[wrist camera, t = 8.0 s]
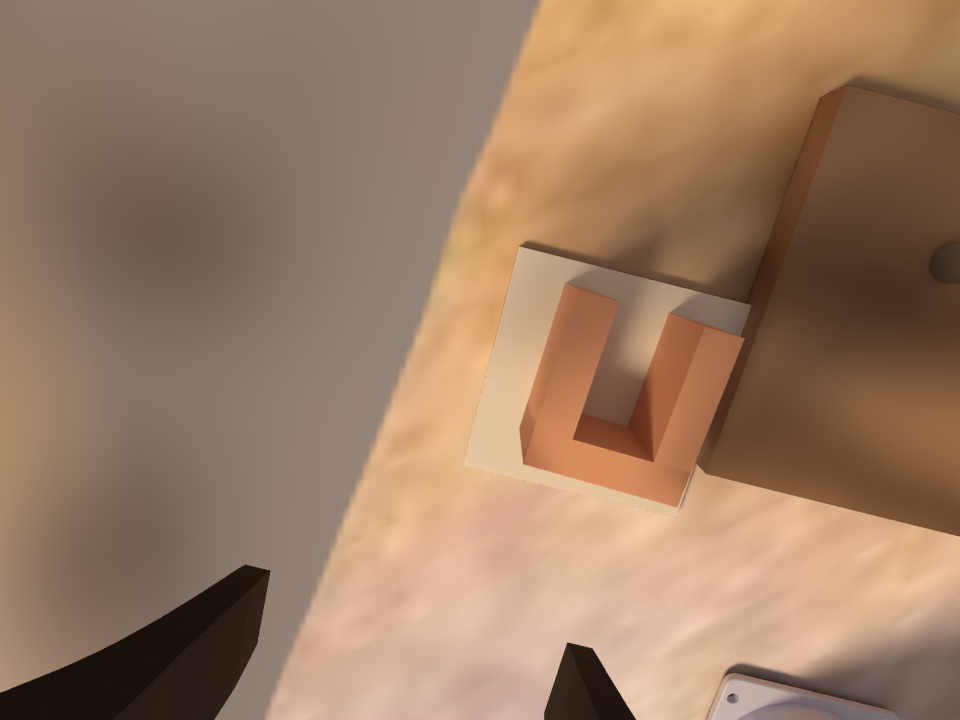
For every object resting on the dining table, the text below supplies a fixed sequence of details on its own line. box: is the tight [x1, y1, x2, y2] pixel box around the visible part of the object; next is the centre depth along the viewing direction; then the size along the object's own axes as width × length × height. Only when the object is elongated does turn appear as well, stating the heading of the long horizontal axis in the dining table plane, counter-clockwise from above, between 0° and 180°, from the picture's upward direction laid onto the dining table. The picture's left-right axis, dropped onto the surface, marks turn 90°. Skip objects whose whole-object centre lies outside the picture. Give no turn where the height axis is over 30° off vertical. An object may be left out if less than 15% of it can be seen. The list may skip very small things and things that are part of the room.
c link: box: [519, 283, 745, 507], centre depth 19 cm, size 6×5×4 cm
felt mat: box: [463, 246, 752, 518], centre depth 21 cm, size 9×9×1 cm
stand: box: [696, 85, 960, 536], centre depth 17 cm, size 14×11×6 cm
